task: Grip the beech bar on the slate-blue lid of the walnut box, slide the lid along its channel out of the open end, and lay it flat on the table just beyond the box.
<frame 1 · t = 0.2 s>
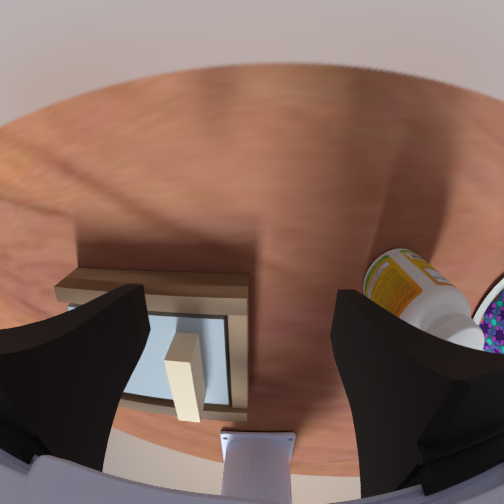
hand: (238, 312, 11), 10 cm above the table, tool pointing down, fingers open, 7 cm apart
supplement bottle: (392, 278, 21), on the table
lid: (151, 351, 21), point 2 cm above the table, touching box
box: (163, 337, 23), on the table
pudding: (500, 316, 23), on the table
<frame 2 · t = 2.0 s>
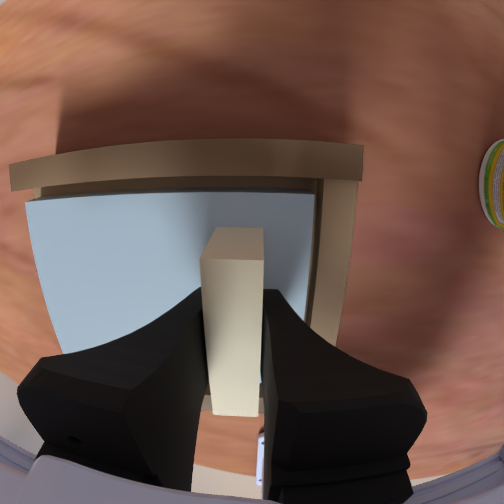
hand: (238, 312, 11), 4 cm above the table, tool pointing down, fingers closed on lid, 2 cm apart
supplement bottle: (502, 183, 12), on the table
lid: (160, 286, 12), point 2 cm above the table, touching box, gripper
box: (182, 268, 14), on the table
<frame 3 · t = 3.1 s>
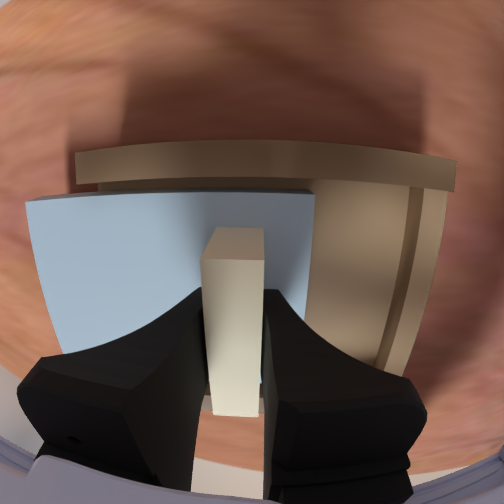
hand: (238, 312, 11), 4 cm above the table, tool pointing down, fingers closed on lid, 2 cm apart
lid: (160, 286, 12), point 2 cm above the table, touching gripper
box: (264, 271, 14), on the table
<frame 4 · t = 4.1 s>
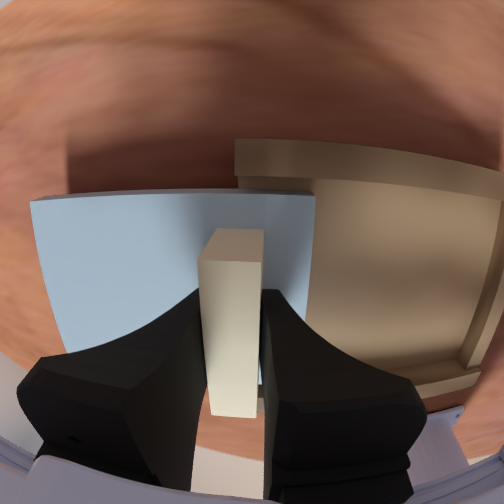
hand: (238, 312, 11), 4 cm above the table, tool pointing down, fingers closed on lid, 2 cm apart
lid: (163, 286, 13), point 2 cm above the table, touching gripper
box: (380, 272, 14), on the table
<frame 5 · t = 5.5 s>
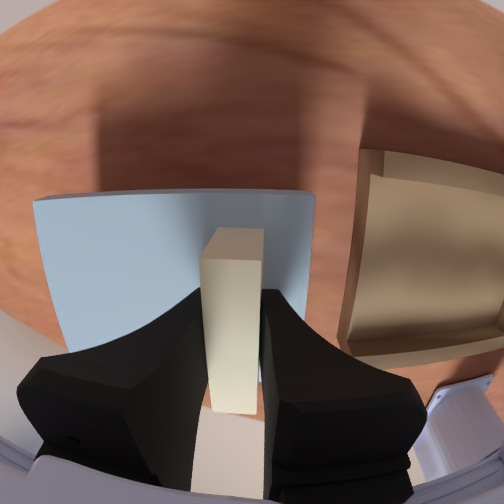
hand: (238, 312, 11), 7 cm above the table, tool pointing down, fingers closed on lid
lid: (164, 285, 13), point 5 cm above the table, touching gripper
box: (444, 255, 17), on the table
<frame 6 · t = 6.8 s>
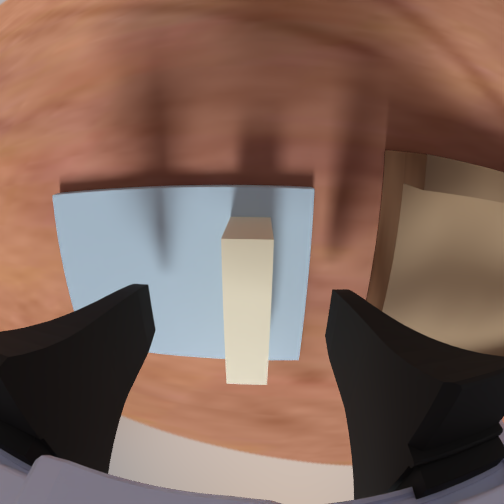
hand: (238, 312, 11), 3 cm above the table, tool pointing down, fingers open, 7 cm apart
lid: (177, 271, 14), on the table
box: (475, 277, 13), on the table
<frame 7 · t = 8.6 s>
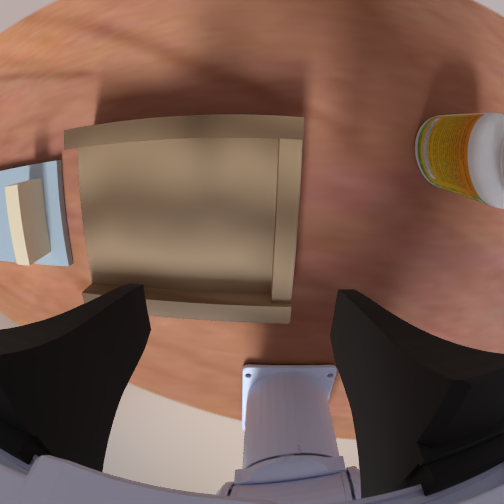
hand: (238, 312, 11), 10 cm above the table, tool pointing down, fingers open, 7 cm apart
supplement bottle: (440, 151, 18), on the table
lid: (21, 213, 20), on the table
box: (185, 211, 19), on the table
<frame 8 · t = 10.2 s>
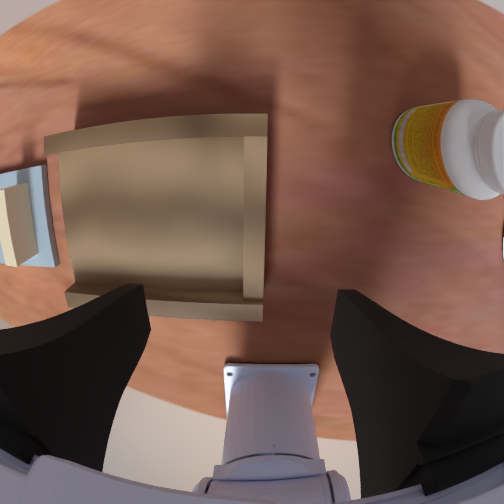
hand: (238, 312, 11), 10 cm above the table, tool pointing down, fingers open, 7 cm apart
supplement bottle: (420, 144, 18), on the table
lid: (11, 217, 20), on the table
box: (160, 211, 20), on the table
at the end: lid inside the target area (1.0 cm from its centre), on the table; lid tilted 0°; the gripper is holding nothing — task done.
